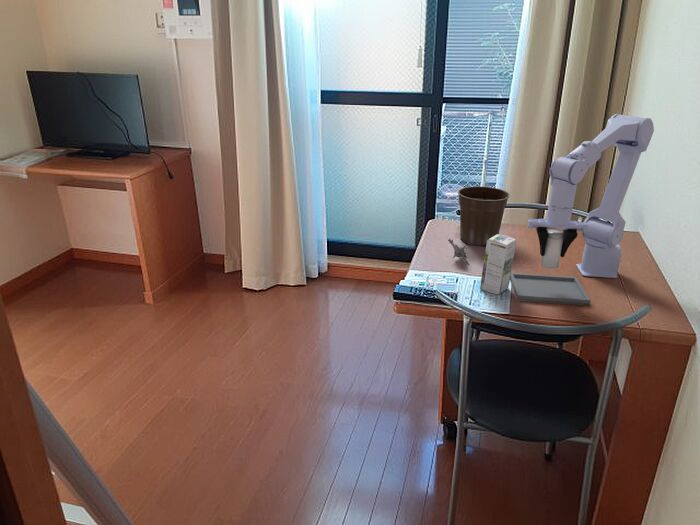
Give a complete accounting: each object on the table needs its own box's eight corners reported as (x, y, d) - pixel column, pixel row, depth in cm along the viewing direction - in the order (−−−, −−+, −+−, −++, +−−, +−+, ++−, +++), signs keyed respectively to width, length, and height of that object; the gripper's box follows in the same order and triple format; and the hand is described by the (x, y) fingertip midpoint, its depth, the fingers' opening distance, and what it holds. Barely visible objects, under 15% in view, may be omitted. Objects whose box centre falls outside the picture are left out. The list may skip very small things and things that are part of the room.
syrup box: (489, 282, 149) (495, 233, 143) (509, 288, 146) (516, 238, 140) (479, 289, 145) (485, 238, 139) (500, 295, 142) (507, 244, 136)
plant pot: (448, 243, 175) (452, 196, 169) (458, 228, 189) (463, 183, 182) (499, 252, 169) (505, 202, 163) (506, 235, 183) (512, 189, 177)
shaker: (556, 262, 145) (561, 230, 142) (560, 269, 141) (566, 235, 137) (539, 262, 145) (544, 229, 142) (543, 268, 141) (548, 234, 138)
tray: (575, 281, 150) (576, 277, 149) (589, 305, 137) (590, 300, 137) (509, 277, 152) (509, 272, 151) (517, 300, 139) (517, 295, 139)
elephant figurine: (480, 259, 164) (475, 259, 156) (465, 270, 166) (459, 271, 158) (460, 233, 167) (454, 232, 158) (445, 245, 169) (438, 244, 160)
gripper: (534, 208, 133) (525, 259, 139) (595, 212, 132) (584, 262, 137) (529, 200, 140) (521, 248, 145) (587, 203, 138) (577, 252, 144)
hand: (551, 255), depth 142 cm, fingers closed on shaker, 4 cm apart
